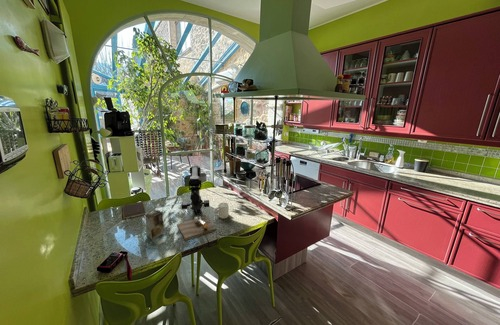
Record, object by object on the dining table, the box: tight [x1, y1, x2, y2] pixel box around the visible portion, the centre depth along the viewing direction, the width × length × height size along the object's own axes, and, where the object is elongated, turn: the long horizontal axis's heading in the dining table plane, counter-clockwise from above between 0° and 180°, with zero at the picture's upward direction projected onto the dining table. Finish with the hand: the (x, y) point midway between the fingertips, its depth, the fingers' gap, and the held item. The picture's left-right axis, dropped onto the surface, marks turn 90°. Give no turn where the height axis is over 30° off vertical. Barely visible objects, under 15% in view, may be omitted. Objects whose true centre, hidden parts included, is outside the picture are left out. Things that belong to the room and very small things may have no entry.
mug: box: [213, 202, 230, 219], centre depth 164 cm, size 12×8×10 cm
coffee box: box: [144, 209, 165, 240], centre depth 138 cm, size 9×6×16 cm
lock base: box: [176, 216, 216, 241], centre depth 148 cm, size 20×22×2 cm
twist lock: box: [193, 215, 207, 230], centre depth 149 cm, size 15×5×4 cm, turn 40°
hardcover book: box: [121, 201, 146, 220], centre depth 171 cm, size 16×23×2 cm
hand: (196, 215), depth 144 cm, fingers closed
